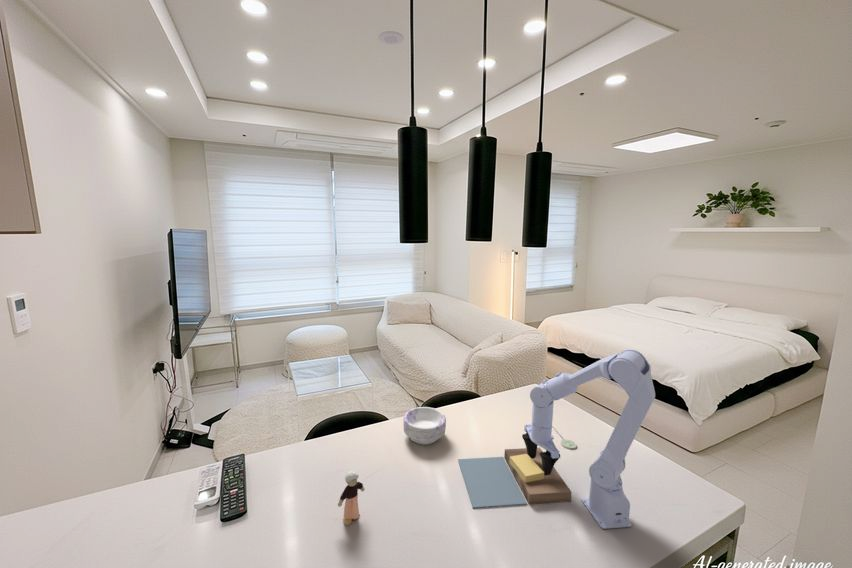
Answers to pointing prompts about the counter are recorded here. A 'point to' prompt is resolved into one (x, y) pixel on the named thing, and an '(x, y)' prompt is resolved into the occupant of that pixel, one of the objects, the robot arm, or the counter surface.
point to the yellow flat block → (526, 468)
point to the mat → (490, 483)
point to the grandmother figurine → (351, 497)
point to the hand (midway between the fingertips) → (539, 465)
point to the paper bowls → (424, 424)
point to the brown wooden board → (540, 482)
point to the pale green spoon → (567, 443)
